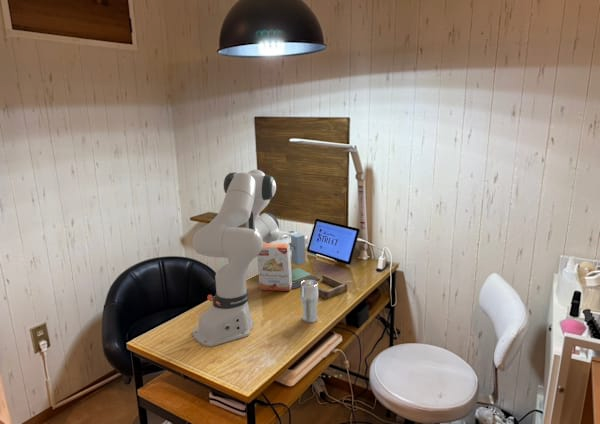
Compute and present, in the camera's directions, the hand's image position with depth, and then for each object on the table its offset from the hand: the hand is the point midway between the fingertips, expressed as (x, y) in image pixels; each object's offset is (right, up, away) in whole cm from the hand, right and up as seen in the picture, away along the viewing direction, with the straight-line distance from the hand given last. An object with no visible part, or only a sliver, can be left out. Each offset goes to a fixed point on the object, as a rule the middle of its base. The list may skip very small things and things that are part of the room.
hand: (299, 247), depth 195 cm
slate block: (0, -8, +3) cm, 8 cm away
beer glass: (+4, -25, -35) cm, 43 cm away
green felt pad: (-2, -14, +6) cm, 15 cm away
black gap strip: (+2, -16, -3) cm, 17 cm away
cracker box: (-10, -18, -8) cm, 22 cm away
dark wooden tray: (+12, -18, -10) cm, 24 cm away
